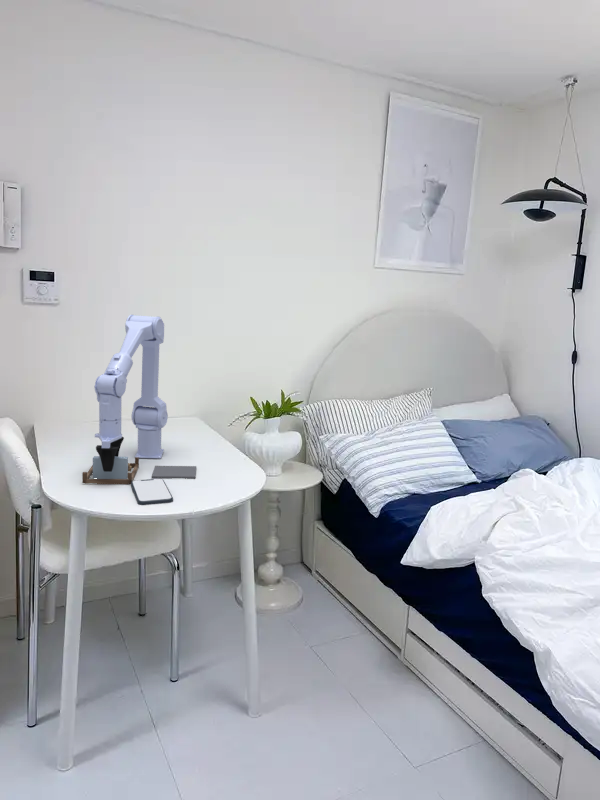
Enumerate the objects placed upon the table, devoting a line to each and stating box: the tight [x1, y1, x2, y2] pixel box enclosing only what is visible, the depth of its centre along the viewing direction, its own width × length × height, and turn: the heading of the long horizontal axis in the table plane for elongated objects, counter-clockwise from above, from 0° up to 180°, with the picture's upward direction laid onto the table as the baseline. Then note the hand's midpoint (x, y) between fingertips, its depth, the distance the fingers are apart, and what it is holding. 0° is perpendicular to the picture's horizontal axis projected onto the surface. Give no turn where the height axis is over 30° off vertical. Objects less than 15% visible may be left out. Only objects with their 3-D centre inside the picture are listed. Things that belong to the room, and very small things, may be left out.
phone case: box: [130, 478, 174, 506], centre depth 152 cm, size 9×2×16 cm
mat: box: [151, 465, 197, 480], centre depth 169 cm, size 10×12×1 cm
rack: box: [81, 456, 140, 485], centre depth 164 cm, size 16×13×3 cm
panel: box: [92, 455, 129, 479], centre depth 161 cm, size 2×9×6 cm, turn 98°
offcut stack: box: [128, 462, 133, 472], centre depth 169 cm, size 3×9×2 cm, turn 98°
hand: (110, 467), depth 161 cm, fingers open, 7 cm apart
